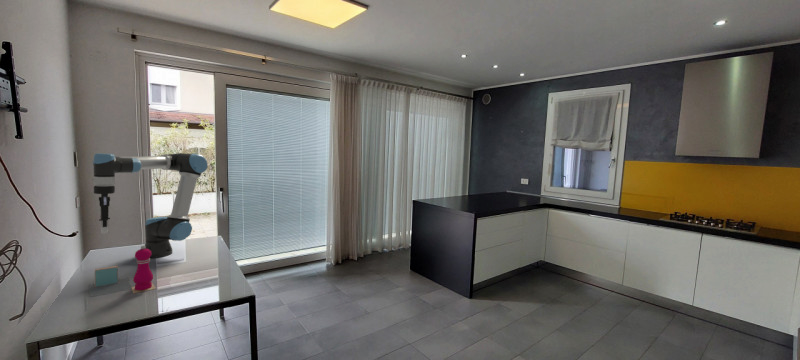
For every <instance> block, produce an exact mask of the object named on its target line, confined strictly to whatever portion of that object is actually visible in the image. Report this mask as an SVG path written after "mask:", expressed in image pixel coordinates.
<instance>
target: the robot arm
mask: <svg viewBox="0 0 800 360" xmlns="http://www.w3.org/2000/svg"><path fill="white" fill-rule="evenodd" d="M92 166H93V178H91V181H93V185H94V186H93V194H95V195H100V196H98V202H99V206H100V216H99V217H100V219H98V221H99V222H100V234H101V235H102V234H103V235H104V234H109V220H110V219H111V218H110V217H109V206H110V201H111V197H110V196H109V194H110V195H111V194H112V195H113V194H115V192H116V190H115V189H116V186H115V184H116V175H115V174H119V173H121V174H122V173H123V174H125V173H127V174H128V173H129V174H130V173H131V174H132V173H137V172H139V171H140V170H160V169H161V170H163V171H176V172H178V174H179V175H180V179H179V183H178V186H177V190H176V192H175V193H176V194H175V198H174V202H173V206H172V208H171V209H172V210H171V213H170V214H169V215H168V216H157V217H150V218H148V219H146V220H145V225H144V227H145V229H144V233H145V236H144V238H145V243H144V246H146V248H145V249H149V250H150V251H151V256H150V259H152V258H153V259H157V258H162V257H167V256H169V255H172V254H173V247H172V244H171V243H170V241H174V242H176V241H177V242H178V241H179V242H182V241H184V240H186V239H187V238H188V237H189V236H190V235H191V233H192V231H193V226H192V224H191V223H190V220H191V219H190V218H189V213H190V208H191V204H192V199H193V197H194V192H195V188H196V184H197V181H198V179H199V178H201V176H202V173H203V174H204V173H205V171H207V170H208V160H206V158H205V156H203V155H202V154H197V153H182V152H181V153H179V152H178V153H168V154H165V153H164V154H161V155H160V156H159V155H149V156H148V155H147V156H140V155H139V156H115V154H114V153H98V152H97V153H95V154H94V155H93V161H92Z"/></svg>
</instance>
